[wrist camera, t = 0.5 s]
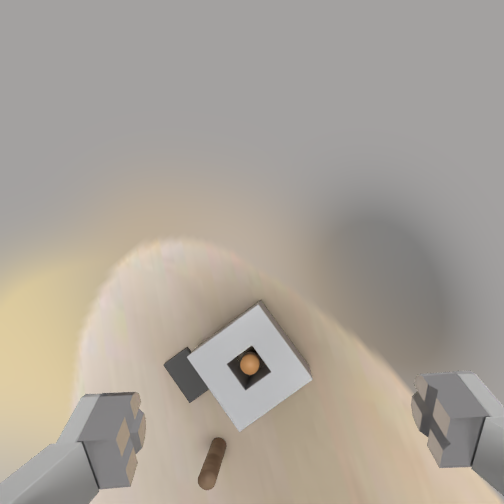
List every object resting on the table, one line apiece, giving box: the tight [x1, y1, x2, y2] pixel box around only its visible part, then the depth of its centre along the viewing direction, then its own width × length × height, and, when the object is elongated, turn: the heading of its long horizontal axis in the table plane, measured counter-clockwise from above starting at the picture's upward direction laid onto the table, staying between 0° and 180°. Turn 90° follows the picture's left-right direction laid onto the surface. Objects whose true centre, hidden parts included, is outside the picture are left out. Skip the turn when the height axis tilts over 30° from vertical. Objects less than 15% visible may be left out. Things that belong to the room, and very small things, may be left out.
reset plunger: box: [240, 352, 260, 375], centre depth 57 cm, size 3×3×2 cm
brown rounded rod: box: [198, 438, 226, 490], centre depth 56 cm, size 3×3×10 cm
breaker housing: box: [187, 300, 313, 432], centre depth 57 cm, size 14×14×7 cm
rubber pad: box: [164, 347, 209, 403], centre depth 61 cm, size 8×5×1 cm, turn 37°
